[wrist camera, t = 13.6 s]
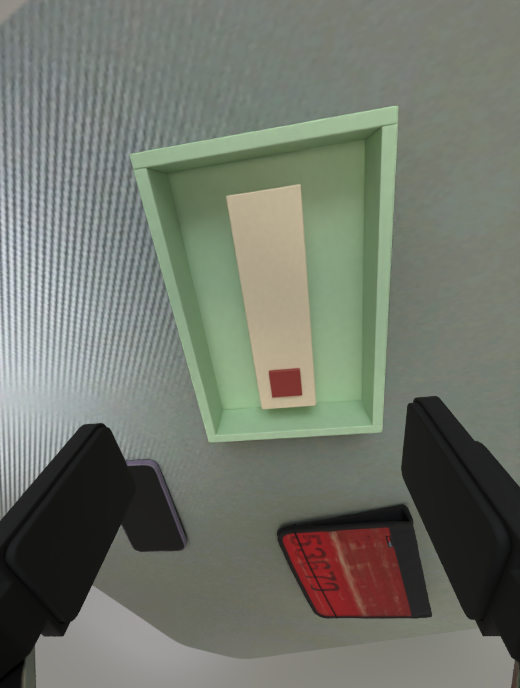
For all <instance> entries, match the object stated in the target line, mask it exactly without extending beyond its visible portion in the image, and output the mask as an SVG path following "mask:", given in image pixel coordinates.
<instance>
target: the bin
mask: <svg viewBox="0 0 520 688" xmlns="http://www.w3.org/2000/svg"><path fill="white" fill-rule="evenodd" d="M397 122H398V106H391V107H386V108H380V109H375V110H369V111H364V112H358V113H353V114H347V115H342V116H336V117H331V118H325V119H320V120H314V121H309V122H303V123H298V124H292V125H287V126H281V127H276V128H270V129H265V130H259V131H254V132H248V133H242V134H237V135H231V136H226V137H220V138H215V139H209V140H204V141H198V142H193V143H187V144H182V145H176V146H171V147H165V148H160V149H154V150H149V151H143V152H138V153H132V154H130V159H131V162H132V166H133V169H134V174H135V178H136V181H137V185H138V189H139V192H140V196H141V199H142V203H143V207H144V210H145V214H146V217H147V221H148V225H149V228H150V232H151V235H152V239H153V243H154V246H155V250H156V253H157V257H158V261H159V264H160V268H161V271H162V275H163V279H164V282H165V286H166V289H167V293H168V297H169V300H170V304H171V307H172V311H173V314H174V318H175V322H176V325H177V329H178V332H179V336H180V340H181V343H182V347H183V350H184V354H185V358H186V361H187V365H188V368H189V372H190V376H191V379H192V383H193V386H194V390H195V394H196V397H197V401H198V404H199V408H200V412H201V415H202V419H203V422H204V426H205V430H206V433H207V436H208V440H209V443H212V442H229V441H246V440H262V439H279V438H296V437H313V436H330V435H346V434H363V433H380V432H382V424H383V405H384V386H385V366H386V347H387V327H388V307H389V288H390V268H391V249H392V229H393V210H394V190H395V171H396V151H397V132H398V124H397ZM298 184H300V185H301V193H302V207H303V221H304V235H305V250H306V264H307V278H308V292H309V307H310V321H311V335H312V349H313V364H314V378H315V392H316V406H303V407H289V408H275V409H262V408H261V402H260V396H259V390H258V384H257V378H256V372H255V366H254V361H253V355H252V349H251V343H250V337H249V331H248V325H247V319H246V313H245V307H244V301H243V295H242V289H241V283H240V278H239V272H238V266H237V260H236V254H235V248H234V242H233V236H232V230H231V224H230V218H229V212H228V206H227V201H226V196H229V195H235V194H241V193H248V192H254V191H260V190H266V189H273V188H279V187H285V186H291V185H298Z"/></svg>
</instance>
